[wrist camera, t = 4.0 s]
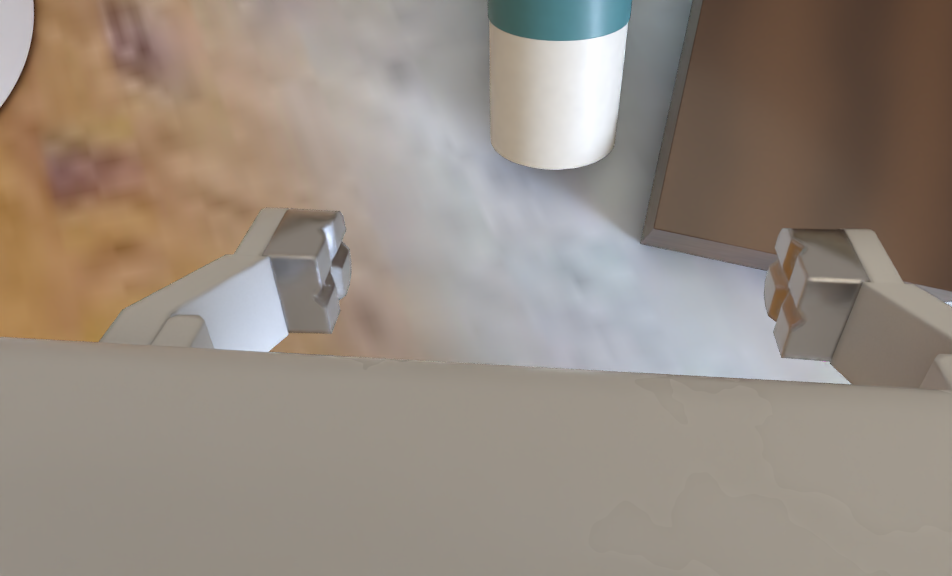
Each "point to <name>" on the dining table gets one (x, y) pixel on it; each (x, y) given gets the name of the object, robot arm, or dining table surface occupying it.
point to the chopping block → (810, 132)
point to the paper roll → (556, 79)
